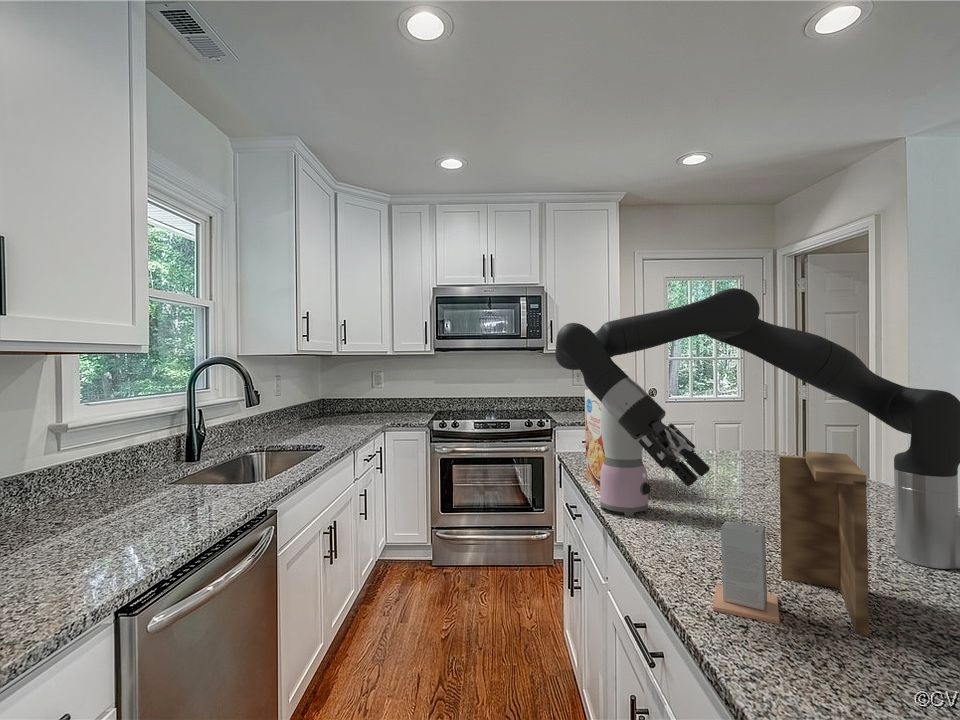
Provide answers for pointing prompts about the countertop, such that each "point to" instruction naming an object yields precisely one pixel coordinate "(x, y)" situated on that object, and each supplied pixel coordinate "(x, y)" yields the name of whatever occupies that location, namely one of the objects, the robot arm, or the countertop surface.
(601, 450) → the pasta box
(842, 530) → the walnut cubby
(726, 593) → the skincare box
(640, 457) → the blender
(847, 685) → the countertop surface
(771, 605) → the terracotta tile
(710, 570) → the countertop surface
